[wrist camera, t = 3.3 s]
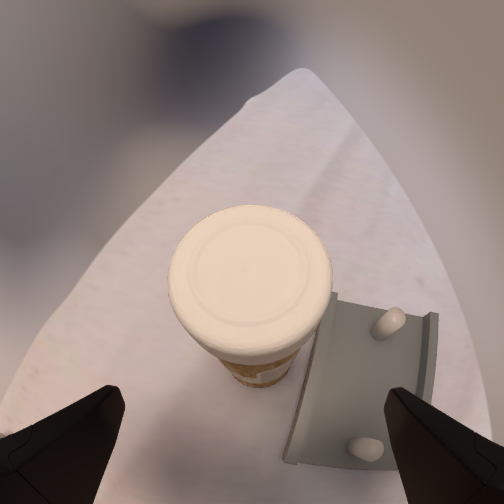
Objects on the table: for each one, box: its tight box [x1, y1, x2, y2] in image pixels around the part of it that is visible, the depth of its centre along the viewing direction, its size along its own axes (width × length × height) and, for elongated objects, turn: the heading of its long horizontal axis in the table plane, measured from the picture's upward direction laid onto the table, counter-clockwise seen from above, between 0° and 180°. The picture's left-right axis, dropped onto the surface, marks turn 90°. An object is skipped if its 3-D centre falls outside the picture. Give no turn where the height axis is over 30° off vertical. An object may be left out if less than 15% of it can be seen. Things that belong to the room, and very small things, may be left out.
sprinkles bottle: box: [168, 205, 333, 388], centre depth 13 cm, size 5×5×13 cm
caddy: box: [283, 292, 439, 470], centre depth 15 cm, size 12×9×4 cm
